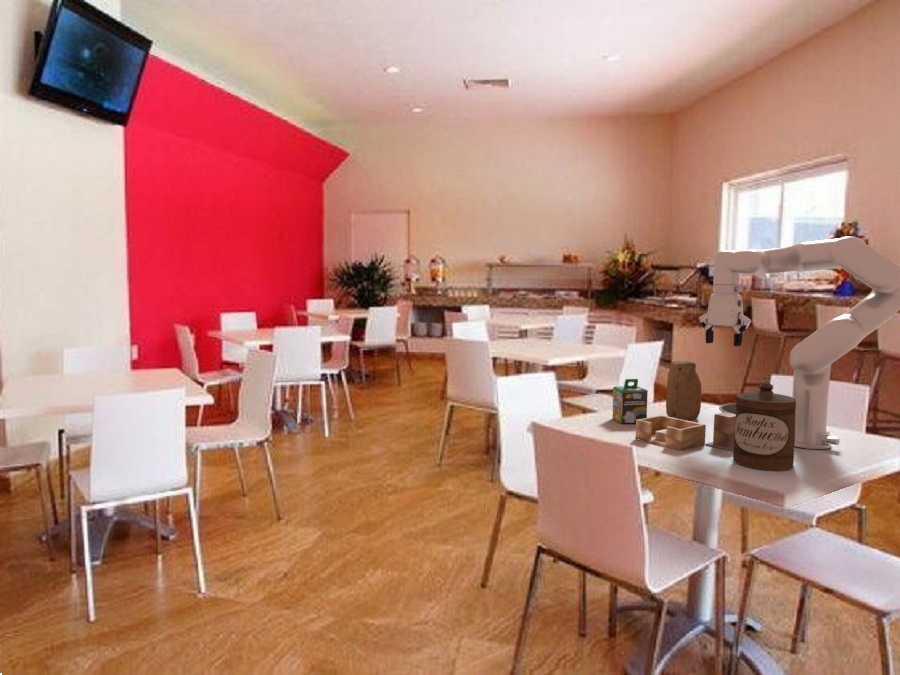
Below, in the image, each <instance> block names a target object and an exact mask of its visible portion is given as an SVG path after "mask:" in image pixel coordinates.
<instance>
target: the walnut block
mask: <svg viewBox="0 0 900 675" xmlns="http://www.w3.org/2000/svg"><path fill="white" fill-rule="evenodd" d="M713 417H714V418H713V438H712V442H713V444H715V445H719V446H723V447H728V448H729V447H733V446H734V431H735V419H736V414H731V413H726V412H722V411H721V412H719V413H715V414H714V416H713Z"/></svg>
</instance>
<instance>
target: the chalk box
mask: <svg viewBox="0 0 900 675" xmlns="http://www.w3.org/2000/svg"><path fill="white" fill-rule="evenodd" d="M638 382H639V379H638V378H626V379H625V380H624V384H623V385H621V386H619V385H618V386H613V387H612V419H613V418H614V420H615V419H616V420H615V421H616V422H618V421H619V422H618V423H619V424H621V423H636V420H638V419H643V418H648V391H649V390H647V389H645V388H643V387H641V386H639V385H638ZM629 383H633V384H632V385H629Z"/></svg>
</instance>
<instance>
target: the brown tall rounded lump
mask: <svg viewBox="0 0 900 675" xmlns="http://www.w3.org/2000/svg"><path fill="white" fill-rule="evenodd" d="M696 368H697V365H696V363H695V361H689V360H685V361H682V360H681V361H680V360H679V361H671V362H669V364H668V369H669V370H668V373H667V382H666V395H665V413H666V415H667V417H672V418H677V419H681V420H686V421H690V420H696V419H697V418H699V416H700V413H701V407H702V382H701V380H700V377H699V375H698V373H697V370H696Z"/></svg>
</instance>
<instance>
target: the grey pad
mask: <svg viewBox="0 0 900 675" xmlns="http://www.w3.org/2000/svg"><path fill="white" fill-rule="evenodd" d="M705 446H707V447H708V446H709V447H712V448H716V449H720V450H724V451H729V452H731V451H733V450H734V446H733V447H729V448H728V447H723V446H719V445H715V444H713V441H711V442H707V443H706V442H705Z"/></svg>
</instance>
